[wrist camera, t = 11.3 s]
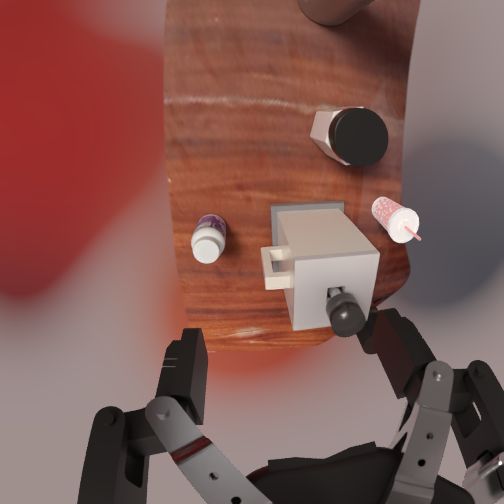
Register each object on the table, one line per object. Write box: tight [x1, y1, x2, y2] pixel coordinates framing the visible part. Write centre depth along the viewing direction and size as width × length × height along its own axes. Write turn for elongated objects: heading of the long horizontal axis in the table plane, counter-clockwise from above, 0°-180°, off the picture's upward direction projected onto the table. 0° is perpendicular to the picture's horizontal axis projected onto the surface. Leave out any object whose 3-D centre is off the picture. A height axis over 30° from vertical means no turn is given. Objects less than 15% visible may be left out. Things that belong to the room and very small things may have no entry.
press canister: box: [261, 200, 380, 330], centre depth 44 cm, size 13×15×18 cm
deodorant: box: [356, 300, 379, 354], centre depth 52 cm, size 6×6×15 cm
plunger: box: [326, 287, 366, 337], centre depth 37 cm, size 8×8×16 cm
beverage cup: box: [372, 197, 421, 243], centre depth 44 cm, size 6×6×14 cm
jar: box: [310, 107, 388, 167], centre depth 38 cm, size 9×8×12 cm
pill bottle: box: [191, 214, 226, 263], centre depth 46 cm, size 5×5×10 cm
